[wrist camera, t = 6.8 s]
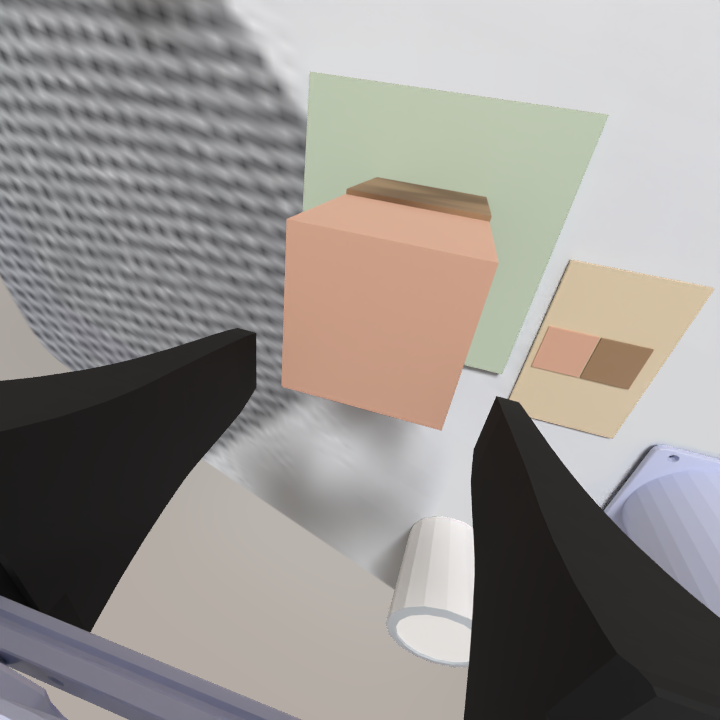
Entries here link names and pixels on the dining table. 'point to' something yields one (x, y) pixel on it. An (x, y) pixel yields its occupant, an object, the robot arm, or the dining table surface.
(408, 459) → the dining table surface
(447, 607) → the white cup
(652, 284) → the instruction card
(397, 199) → the walnut block
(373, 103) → the plate
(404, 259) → the terracotta block
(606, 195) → the dining table surface
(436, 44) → the dining table surface
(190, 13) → the dining table surface
